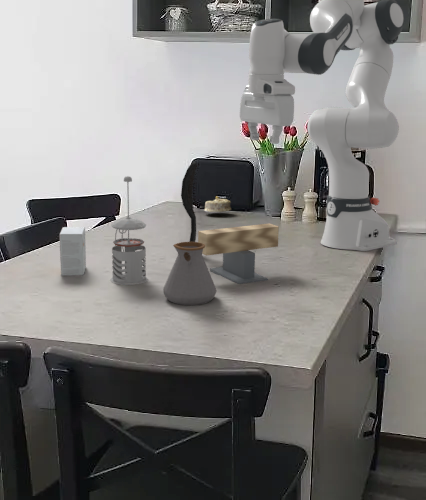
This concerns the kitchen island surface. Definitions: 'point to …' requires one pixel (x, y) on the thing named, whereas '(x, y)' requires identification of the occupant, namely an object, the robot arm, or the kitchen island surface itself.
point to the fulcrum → (239, 267)
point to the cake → (217, 205)
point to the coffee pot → (189, 276)
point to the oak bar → (238, 238)
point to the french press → (128, 251)
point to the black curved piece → (189, 197)
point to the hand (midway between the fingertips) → (264, 141)
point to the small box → (72, 250)
